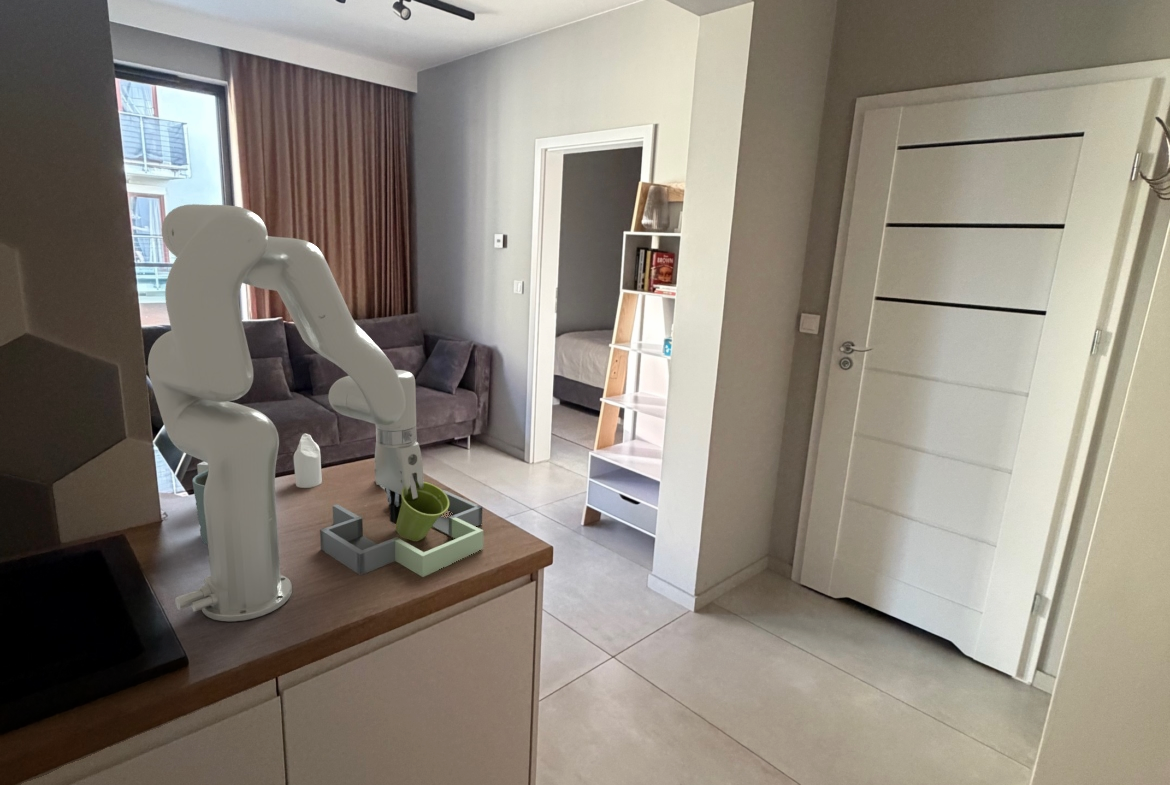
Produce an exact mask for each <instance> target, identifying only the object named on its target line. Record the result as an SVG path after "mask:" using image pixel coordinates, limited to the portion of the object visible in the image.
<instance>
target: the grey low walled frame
mask: <svg viewBox="0 0 1170 785" xmlns="http://www.w3.org/2000/svg"><path fill="white" fill-rule="evenodd" d="M440 489H441V490H442V491H443V492H444V493H445V494H446V495H447V497H448V499H449V508H448V511H450V512H449V515H450V513H451V512H452V513H453V514H452V513H451V515H452V516H451V515H450V516H449V515H448V516H449V517H447V518H446V517H445V516H444V517H445V518H444V517H441V516H442V515H441V516H440V517H438V519H437V520H436V522H435V523H434V524H433V526H432V527H433V528H432V527H431V528H432V529H434V528H435V529H434V530H436V529H437V531H438V530H439V531H438V532H440V531H441V532H440V533H442V532H443V533H442V534H444V533H445V534H444V535H446V534H447V535H446V536H448V535H449V536H448V537H450V536H451V538H452V537H453V540H449V541H447V542H445V543H443V544H441V545H438V546H435V547H433V548H431V549H428V550H426V551H423V550H420V549H419V548H417V547H415V546H413V545H411V544H410V543H408V542H406V541H405V540H402V539H401V538H399V537H397V536H396V537H393V538H391V539H388V540H385V541H383V542H380V543H376V542H375V541H373V540H371V539H369V538H368V537H366V536H365V535H364V534H363V533H364V530H363V528H364V525H363V518H362V516H359V515H357V514H356V513H355V512H354V513H353V512H352V511H350V510H348V509H347V508H345V507H343V506H341V505H340V504H337V503H336V504H333V505H332V525H331V526H330V525H329V526H327V527H325V528H321V529H320V530H319V534H320V536H319V537H320V550H321V551H322V552H324V553H326V554H327V555H329V556H330V557H331V558H333V559H335V560H336V561H338V562H340V563H341V564H342V565H344V566H346V567H347V568H348V569H350V570H352V571H353V572H355V573H356V574H358V575H359V576H363V575H365V574H367V573H369V572H372V571H375V570H377V569H379V568H382V567H383V566H386V565H388V564H391V563H394V562H396V563H398V564H400V565H402V566H403V567H405V568H407V569H408V570H410V571H412V572H413V573H415V574H417V575H419V576H420V577H422V578H425V577H427V576H428V575H431V574H433V573H435V572H437V571H439V569H440V570H441V568H442V569H444V568H446V567H448V566H450V565H452V563H453V564H454V562H455V563H457V562H459V561H461V560H463V559H462V558H464V557H466V556H468V555H470V556H472V555H474V554H476V553H475V552H477V551H479V550H481V549H483V550H484V529H481V528H480V527H479V526H478V525H480V526H482V525H483V506H481V505H479V504H478V503H474V502H473V501H470V500H468V499H466V498H463V497H461V496H459V495H456V494H455V493H452V492H450V491H447V490H445V489H442V488H440ZM390 504H391V503H389V502H388V506H389V505H390ZM446 514H447V513H446ZM443 515H444V514H443ZM446 516H447V515H446ZM481 524H482V525H481ZM476 526H478V527H476ZM454 538H455V539H454ZM481 551H482V550H481ZM479 552H480V551H479ZM473 553H474V554H473ZM477 553H478V552H477ZM471 554H472V555H471ZM468 557H469V556H468ZM466 558H467V557H466ZM460 559H461V560H460ZM464 559H465V558H464ZM458 560H459V561H458ZM456 561H457V562H456ZM443 567H444V568H443Z"/></svg>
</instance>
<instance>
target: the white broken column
mask: <svg viewBox="0 0 1170 785" xmlns="http://www.w3.org/2000/svg"><path fill="white" fill-rule="evenodd" d="M321 460H322V458H321V449H320V446H319V444H317V442H315V441H314V439H313V438H312V435H311V434H309V433H303V434H302V435H301V437H300V440H299V443H298V445H297V448H296V451H294V454H293V468H294V477H295V486H296V487H297V488H300V489H309V488H315V487H318V486H319V485H321V484H322V482H323V481H322V463H321V462H322V461H321Z"/></svg>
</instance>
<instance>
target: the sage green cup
mask: <svg viewBox="0 0 1170 785" xmlns="http://www.w3.org/2000/svg"><path fill="white" fill-rule="evenodd" d="M208 472H209V471H205V472H202V473H200V474H198V473H197V475H195V476H194V477H193V478H192V480H191V481H192V487H193V493H194V499H195V507H196V513H197V514H196V515H197V518H198V519H197V520H198V525H199V526H200V527H199V532H200V539H201V541H202V543H203V544H205V545H207V546H208V540H207V529H206V518H205V512H204V488H205V484H206V480H207V477H208Z"/></svg>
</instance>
